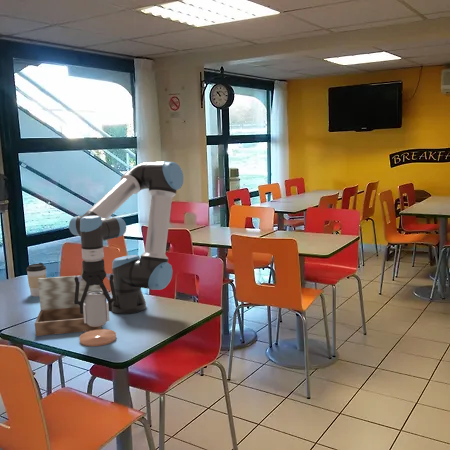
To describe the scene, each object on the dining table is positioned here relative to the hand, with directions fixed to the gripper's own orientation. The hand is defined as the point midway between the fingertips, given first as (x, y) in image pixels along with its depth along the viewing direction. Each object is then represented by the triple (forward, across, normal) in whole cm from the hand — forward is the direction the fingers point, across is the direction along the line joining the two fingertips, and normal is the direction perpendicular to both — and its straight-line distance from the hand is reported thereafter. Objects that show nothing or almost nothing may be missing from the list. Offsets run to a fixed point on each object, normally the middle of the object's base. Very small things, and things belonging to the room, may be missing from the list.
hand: (96, 320), depth 183 cm
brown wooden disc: (+7, 0, 0) cm, 7 cm away
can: (+1, 0, 0) cm, 1 cm away
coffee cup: (+7, -30, +69) cm, 76 cm away
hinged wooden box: (+7, -11, +18) cm, 22 cm away
